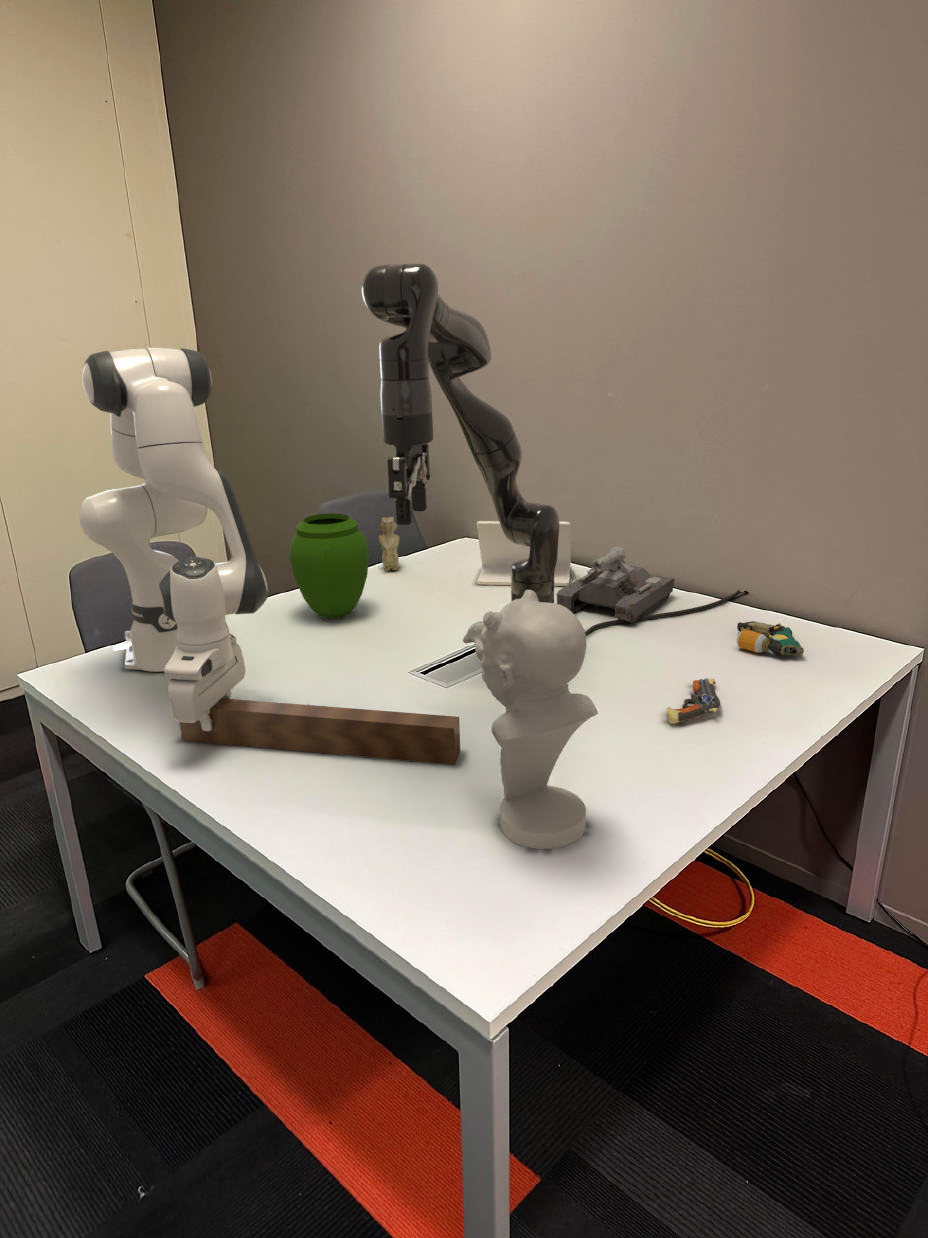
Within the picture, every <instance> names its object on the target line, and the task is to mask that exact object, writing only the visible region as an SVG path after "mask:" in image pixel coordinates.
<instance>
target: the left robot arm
mask: <svg viewBox="0 0 928 1238" xmlns="http://www.w3.org/2000/svg"><path fill="white" fill-rule="evenodd" d="M212 384H213V378H212V371H211V370H210V366H209V364H208V360H207V359H206V358H205V356H203V355H202V353H201V352H199V351H198V350H194V349H189V348H180V349H176V348H165V347H144V348H133V349H132V348H131V349H124V350H116V351H108V350H102V351H97V352H95V353H92V354H89V355H88V357H87V358H86V359H85V361H84V367H83V370H82V386H83V389H84V392H85V394H86V396H87V398H88V400H89V402H90V404H91V405H92V406H94V407H95V408H96V409H98V411H101V412H104V413H108V414H109V419H110V433H111V434H110V435H111V447H112V457H113V461H114V462H115V464H116V465H117V467H118V468H119V469H121V470H122V471H123V472H124V473H127V474H128V475H131V476H133V477H137V478H139V479H143V483H142V484H139V485H135V486H129V487H128V486H127V487H122V488H115V489H109V490H104V491H102V492H98V493H95V494H94V495H90V496H88V497H86V498H84V500H83V502H82V504H81V506H80V509H79V514H78V515H79V516H78V517H79V524H80V526H81V529H82V531H83V532H84V534H85V535H86V537H88V539H89V540H91V541H92V542H94V543H95V544H97V545H100V546H102V547H103V548H105V549H107V551H110V552H111V553H112V554H113V555H114V556H115V557H116V558H117V560H118V561H119V562H120V563H121V565H122V567H123V569H124V571H125V575H126V578H127V580H128V584H129V589H130V594H131V599H132V601H131V603H130V605H131V608H130V610H131V615H132V619H133V621H132V624H131V626H130V630H125V631H124V638H125V642H127V643H125V644H118V645H114V646H112V648H113V651H119V650H125V658H124V670H130V671H131V670H139V671H144V672H153V673H159V672H164V676H165V678H166V679H170V680H169V682H168V687H167V688H168V689H167V690H168V699H169V704H170V709H171V713H172V718H173V719H174V720H175V721H176V722H178V723H179V722H183V723H195V722H196V721H197V720H199V721H200V722H201V727H202V730H204V731H210V730H212V729H213V728H214V726H215V725H214V719H210V717H209V715H208V714H209V713H210V708H211V707H212V706H214V705H215V704H216V703H217V702H218V701H219V700H220V699H221V698H226V699H231V697H232V691H231V690H232V689H234V688H235V686H237V685H238V684H239V683H241V681H242V680H243V679H245V676H246V665H245V660H244V655H243V651H242V648H241V646H240V645H239V644H238V642H237V637H236V636H235V635H234V634H233V633H230V628H229V626H228V624H227V619H226V616H229V615H230V616H231V615H248V614H255V613H256V612H257V611H259V609H260V608H262V606H263V605H264V604H265V603H266V601H267V600H268V594H269V593H268V592H269V591H268V590H269V587H268V586H269V585H268V582H267V578H266V576H265V573H264V571H263V569H262V567H261V565H260V563H259V561H258V558H257V555H256V552H255V550H254V547H253V543H252V542H251V538H250V534H249V532H248V529H247V526H246V523H245V520H244V517H243V513H242V511H241V509H240V508H241V507H240V506H239V502H238V500H237V497H236V494H235V492H234V489H233V487H232V485H231V482H230V480H229V479H228V476H227V475H226V474H225V473H224V472H222V471H220V470H217V469H216V468H215V467H214V465H212V463H211V462H210V460H209V458H208V457H207V454H206V452H205V447H204V441H203V437H202V431H201V426H200V423H199V419H198V415H197V412H196V408H195V407H199V406H201V405H204V404H205V403H206V402H207V401H208V399H209V398H210V396H211V392H212ZM208 509H209V510H211V511H212V512H213V513H214V514H215V515H216V516H217V518H218V520H219V523H220V525H221V528H222V531H223V534H224V537H225V541H226V543H227V546H228V549H229V552H230V555H231V558H230V559H229V560H227V561H223V562H215V561H214V560H212V559H210V558H208V557H203V556H202V557H201V556H190V557H185V558H181V559H180V560H179V559H178V558H177V557H175V556H174V555H173V554H170V553H167V552H164V551H161V550H157V549H153V548H152V546H151V542H150V539H154V538H157V537H163V536H168V535H175V534H179V533H184V532H187V531H188V530H191V529H193V528H196V527H198V526H201V525H202V524H203V523H204V522H205V519H206V517H207V515H208V511H209V510H208Z"/></svg>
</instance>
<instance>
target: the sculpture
mask: <svg viewBox="0 0 928 1238" xmlns="http://www.w3.org/2000/svg"><path fill="white" fill-rule="evenodd" d="M378 526H379V527H378V528H379V529H380V530H381V531H382V532H383V534H380V535H379V536H378V541H379V544H380V548H381V549H382V554H381V563H382V566H383V568H384V571H385V572H386V571H387V572H388V571H390V570H391V569H392V571H397V570H398V566H399V560H400V559H399V558H400V557H399V554H398V551H397V550H398V547H399V544H400V535H398V534H397V533H395V531H396V530H397V528H398V524H397V523H396V522H395V518H394V516H389V517H385V516H383V517H381V523H380V524H379V525H378Z"/></svg>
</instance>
